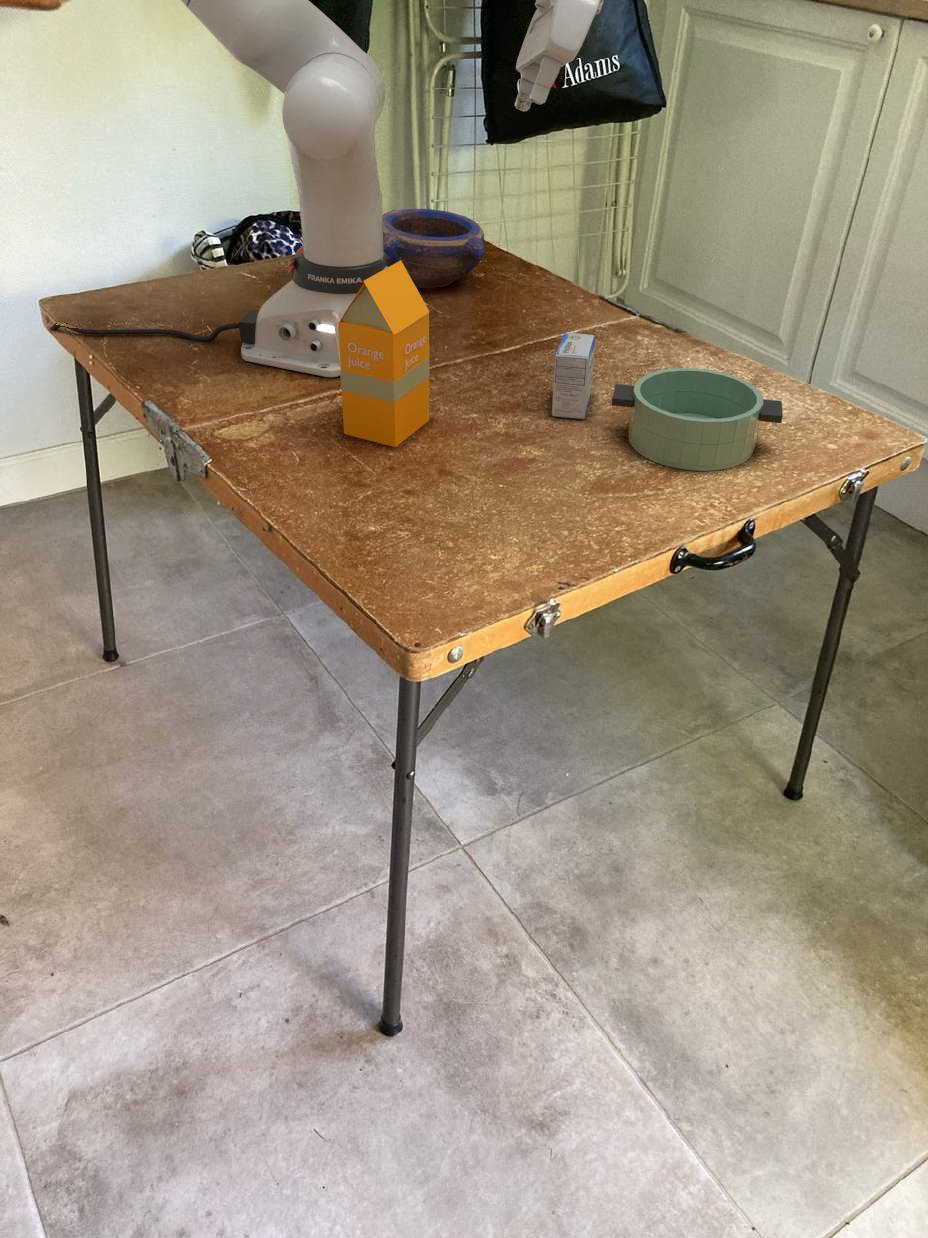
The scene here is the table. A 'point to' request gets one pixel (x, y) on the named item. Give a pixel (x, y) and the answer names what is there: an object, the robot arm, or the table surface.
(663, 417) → the pot
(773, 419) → the pot handles
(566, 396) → the medicine box
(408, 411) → the orange juice
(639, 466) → the table surface
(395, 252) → the bowl
